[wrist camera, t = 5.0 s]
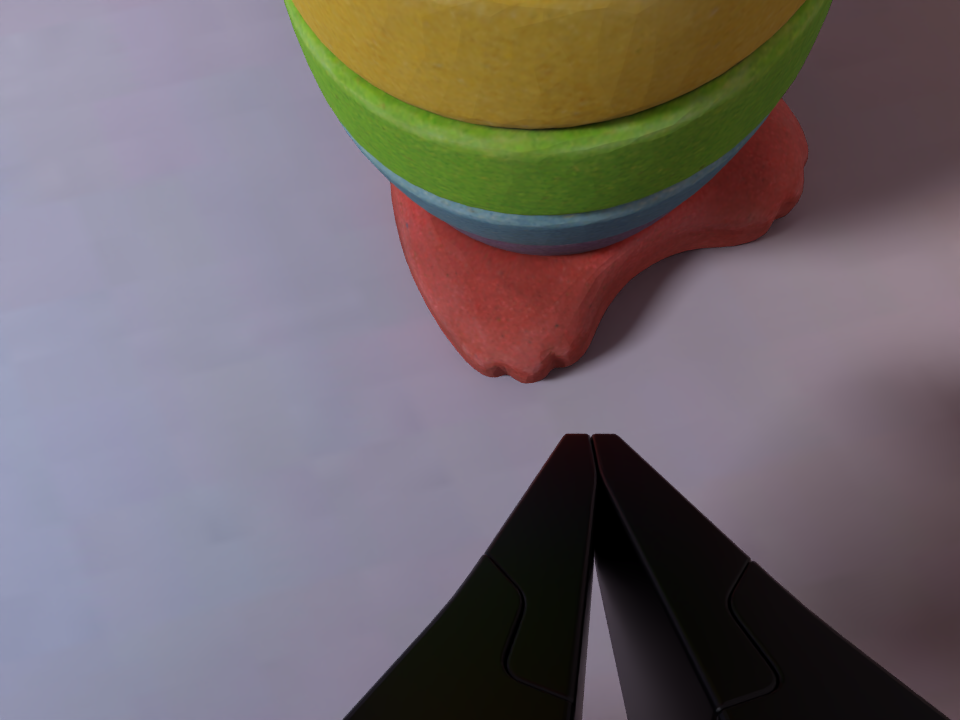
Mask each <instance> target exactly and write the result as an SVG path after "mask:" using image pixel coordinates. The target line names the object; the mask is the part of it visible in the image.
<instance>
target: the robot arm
mask: <svg viewBox="0 0 960 720" xmlns="http://www.w3.org/2000/svg"><path fill="white" fill-rule="evenodd" d="M594 559H595V566H596V571H597V577H598V582H599V586H600V591H601V596H602V600H603V605H604V610H605V615H606V619H607V624H608V629H609V634H610V638H611V643H612V648H613V652H614V657H615V662H616V667H617V671H618V676H619V681H620V685H621V690H622V695H623V700H624V704H625V709H626V714H627V719H628V720H950V719H949V718H948V717H946V716H945V715H944V714H943V713H941V712H940V711H939V710H937V709H936V708H935V707H933V706H932V705H931V704H930V703H928V702H927V701H926V700H924V699H923V698H922V697H921V696H919V695H918V694H917V693H915V692H914V691H913V690H911V689H910V688H909V687H908V686H906V685H905V684H904V683H902V682H901V681H900V680H898V679H897V678H896V677H895V676H893V675H892V674H891V673H889V672H888V671H887V670H885V669H884V668H883V667H882V666H880V665H879V664H878V663H876V662H875V661H874V660H873V659H871V658H870V657H869V656H867V655H866V654H865V653H863V652H862V651H861V650H860V649H858V648H857V647H856V646H854V645H853V644H852V643H850V642H849V641H848V640H847V639H845V638H844V637H843V636H842V635H840V634H839V633H838V632H837V631H835V630H834V629H833V628H832V627H830V626H829V625H828V624H827V623H825V622H824V621H823V620H822V619H820V618H819V617H818V616H817V615H815V614H814V613H813V612H812V611H810V610H809V609H808V608H807V607H805V606H804V605H803V604H802V603H801V602H800V601H799V600H797V599H796V598H795V597H794V596H793V595H792V594H791V593H789V592H788V591H787V590H786V589H785V588H784V587H783V586H782V585H780V584H779V583H778V582H777V581H776V580H775V579H774V578H772V577H771V576H770V575H769V574H768V573H767V572H766V571H765V570H764V569H763V568H762V567H761V566H760V565H758V564H757V563H756V562H755V561H751V559H750V557H749V556H747V555H746V554H745V553H744V552H743V551H742V550H741V549H740V548H739V547H738V546H737V545H736V544H735V543H733V542H732V541H731V540H730V539H729V538H728V537H727V536H726V535H725V534H724V533H723V532H722V531H721V530H719V529H718V528H717V527H716V526H715V525H714V524H713V523H712V522H711V521H710V520H709V519H708V518H707V517H705V516H704V515H703V514H702V513H701V512H700V511H699V510H698V509H697V508H696V507H695V506H694V505H693V504H691V503H690V502H689V501H688V500H687V499H686V498H685V497H684V496H683V495H682V494H681V493H680V492H679V491H677V490H676V489H675V488H674V487H673V486H672V485H671V484H670V483H669V482H668V481H667V480H666V479H665V478H663V477H662V476H661V475H660V474H659V473H658V472H657V471H656V470H655V469H654V468H653V467H652V466H650V465H649V464H648V463H647V462H646V461H645V460H644V459H643V458H642V457H641V456H640V455H639V454H638V453H636V452H635V451H634V450H633V449H632V448H631V447H630V446H629V445H628V444H627V443H626V442H625V441H624V440H622V439H621V438H620V437H619V436H618V435H616V434H593V435H592V436H591V437H590V436H589V435H588V434H565V435H564V436H563V437H562V439H561V440H560V442H559V443H558V445H557V446H556V448H555V449H554V451H553V452H552V454H551V455H550V457H549V458H548V460H547V461H546V463H545V464H544V466H543V467H542V469H541V470H540V472H539V473H538V474H537V476H536V477H535V479H534V480H533V482H532V483H531V485H530V486H529V488H528V489H527V491H526V492H525V494H524V495H523V497H522V498H521V500H520V501H519V503H518V504H517V506H516V507H515V509H514V510H513V511H512V513H511V514H510V516H509V517H508V519H507V520H506V522H505V523H504V525H503V526H502V528H501V529H500V531H499V532H498V534H497V535H496V537H495V538H494V540H493V541H492V543H491V544H490V546H489V547H488V549H487V550H486V551H485V555H482V556H481V558H480V559H479V561H478V562H477V564H476V565H475V567H474V568H473V570H472V571H471V573H470V574H469V575H468V577H467V578H466V579H465V581H464V582H463V583H462V585H461V586H460V587H459V589H458V590H457V591H456V593H455V594H454V596H453V597H452V598H451V599H450V600H449V602H448V603H447V604H446V605H445V606H444V607H443V609H442V610H441V611H440V612H439V613H438V614H437V616H436V617H435V618H434V619H433V620H432V621H431V623H430V624H429V625H428V626H427V627H426V628H425V629H424V630H423V632H422V633H421V634H420V635H419V636H418V637H417V638H416V639H415V640H414V641H413V643H412V644H411V645H410V646H409V647H408V648H407V649H406V650H405V651H404V652H403V654H402V655H401V656H400V657H399V658H398V659H397V660H396V661H395V662H394V663H393V665H392V666H391V667H390V668H389V669H388V670H387V671H386V672H385V673H384V674H383V676H382V677H381V678H380V679H379V680H378V681H377V682H376V683H375V684H374V685H373V687H372V688H371V689H370V690H369V691H368V692H367V693H366V694H365V695H364V697H363V698H362V699H361V700H360V701H359V702H358V703H357V704H356V705H355V706H354V708H353V709H352V710H351V711H350V712H349V713H348V714H347V715H346V716H345V717H344V719H343V720H582V710H583V697H584V684H585V672H586V659H587V646H588V633H589V620H590V608H591V595H592V582H593V566H594Z"/></svg>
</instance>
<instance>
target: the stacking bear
mask: <svg viewBox="0 0 960 720" xmlns="http://www.w3.org/2000/svg"><path fill="white" fill-rule="evenodd" d="M284 2H285V5H286V8H287V11H288V14H289V17H290V20H291V23H292V25H293V28H294V31H295V34H296V36H297V38H298V41H299V43H300V46H301V48H302V50H303V53H304V55H305V58H306V60H307V63H308V65H309V67H310V69H311V71H312V73H313V75H314V77H315V79H316V81H317V83H318V86H319V88H320V89H321V91H322V93H323V95H324V97H325V99H326V101H327V102H328V104H329V105H330V107H331V108H332V110H333V111H334V113H335V114H336V116H337V118H338V119H339V121H340V122H341V124H342V126H343V127H344V129H345V130H346V132H347V133H348V135H349V136H350V137H351V139H352V140H353V141H354V143H355V144H356V145H357V146H358V148H359V149H360V150H361V152H362V153H363V154H364V155H365V156H366V157H367V158H368V159H369V160H370V161H371V162H372V163H373V164H374V165H375V166H376V167H377V168H378V170H379V171H380V172H381V173H382V174H383V175H384V176H385V177H386V178H387V179H388V180H389V181H390V183H391V196H392V204H393V210H394V215H395V221H396V225H397V229H398V234H399V238H400V242H401V246H402V249H403V252H404V255H405V258H406V261H407V263H408V266H409V269H410V271H411V274H412V276H413V279H414V281H415V283H416V285H417V287H418V289H419V291H420V293H421V295H422V297H423V299H424V301H425V303H426V305H427V307H428V308H429V310H430V312H431V313H432V315H433V317H434V318H435V320H436V322H437V323H438V325H439V326H440V328H441V330H442V331H443V333H444V334H445V335H446V337H447V338H448V339H449V341H450V342H451V343H452V345H453V346H454V347H455V349H456V350H457V351H458V352H459V353H460V355H461V356H462V357H463V358H464V359H465V361H466V362H468V363H469V364H470V365H471V366H472V367H473V368H474V369H475V370H477V371H478V372H480V373H481V374H483V375H485V376H488V377H499V376H502V375H505V374H506V375H509V376H511V377H513V378H514V379H516V380H518V381H519V382H521V383H534V382H537V381H540V380H542V379H544V378H545V377H546V376H547V375H548V373H549V372H550V371H551V370H552V369H554V368H560V367H567V366H570V365H572V364H574V363H575V362H577V361H578V360H579V359H580V358H581V357H582V356H583V355H584V353H585V352H586V350H587V349H588V347H589V345H590V343H591V341H592V339H593V337H594V334H595V332H596V329H597V327H598V325H599V323H600V321H601V319H602V317H603V315H604V313H605V311H606V309H607V308H608V306H609V305H610V304H611V302H612V301H613V299H614V298H615V297H616V295H617V294H618V293H619V292H620V291H621V289H622V288H623V287H624V286H625V285H626V284H627V283H628V282H629V281H630V280H631V279H632V278H634V277H635V276H636V275H637V274H639V273H640V272H642V271H643V270H645V269H646V268H648V267H649V266H651V265H653V264H654V263H656V262H658V261H660V260H662V259H664V258H667V257H669V256H672V255H674V254H677V253H680V252H683V251H688V250H693V249H700V248H712V247H727V246H736V245H740V244H744V243H748V242H751V241H753V240H756V239H757V238H759V237H761V236H762V235H764V234H765V233H766V232H767V231H768V229H769V228H770V226H771V224H772V223H773V221H774V220H775V219H778V218H781V217H783V216H785V215H787V214H788V213H789V212H790V211H791V210H792V208H793V207H794V206H795V205H796V203H797V202H798V201H799V198H800V196H801V194H802V192H803V184H804V170H803V168H804V166H805V164H806V161H807V159H808V145H807V142H806V138H805V135H804V133H803V130H802V128H801V126H800V124H799V122H798V120H797V119H796V117H795V116H794V114H793V113H792V111H791V110H790V109H789V107H788V106H787V104H786V103H785V102H784V100H783V99H782V96H783V95H784V94H785V92H786V91H787V89H788V88H789V87H790V85H791V84H792V83H793V81H794V80H795V78H796V76H797V75H798V73H799V71H800V69H801V68H802V66H803V64H804V62H805V60H806V58H807V56H808V54H809V52H810V50H811V48H812V46H813V44H814V42H815V40H816V38H817V36H818V33H819V31H820V29H821V27H822V25H823V22H824V20H825V18H826V16H827V13H828V11H829V8H830V5H831V3H832V0H284Z"/></svg>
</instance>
